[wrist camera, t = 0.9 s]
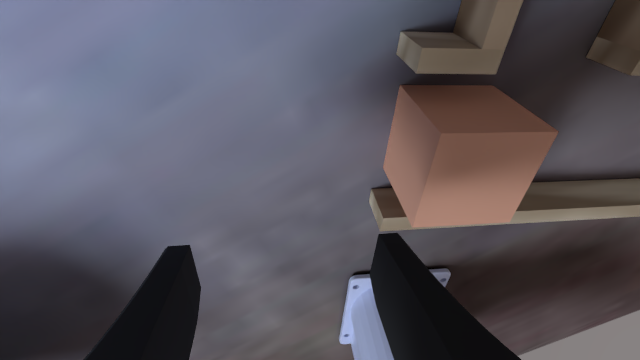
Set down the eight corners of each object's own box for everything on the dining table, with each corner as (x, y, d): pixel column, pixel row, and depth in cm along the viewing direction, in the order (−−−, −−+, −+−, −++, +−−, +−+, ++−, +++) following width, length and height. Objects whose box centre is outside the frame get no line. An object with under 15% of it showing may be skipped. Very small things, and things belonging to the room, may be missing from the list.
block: (462, 164, 20) (509, 222, 16) (382, 167, 20) (412, 227, 16) (492, 84, 17) (558, 131, 13) (399, 84, 17) (441, 133, 13)
